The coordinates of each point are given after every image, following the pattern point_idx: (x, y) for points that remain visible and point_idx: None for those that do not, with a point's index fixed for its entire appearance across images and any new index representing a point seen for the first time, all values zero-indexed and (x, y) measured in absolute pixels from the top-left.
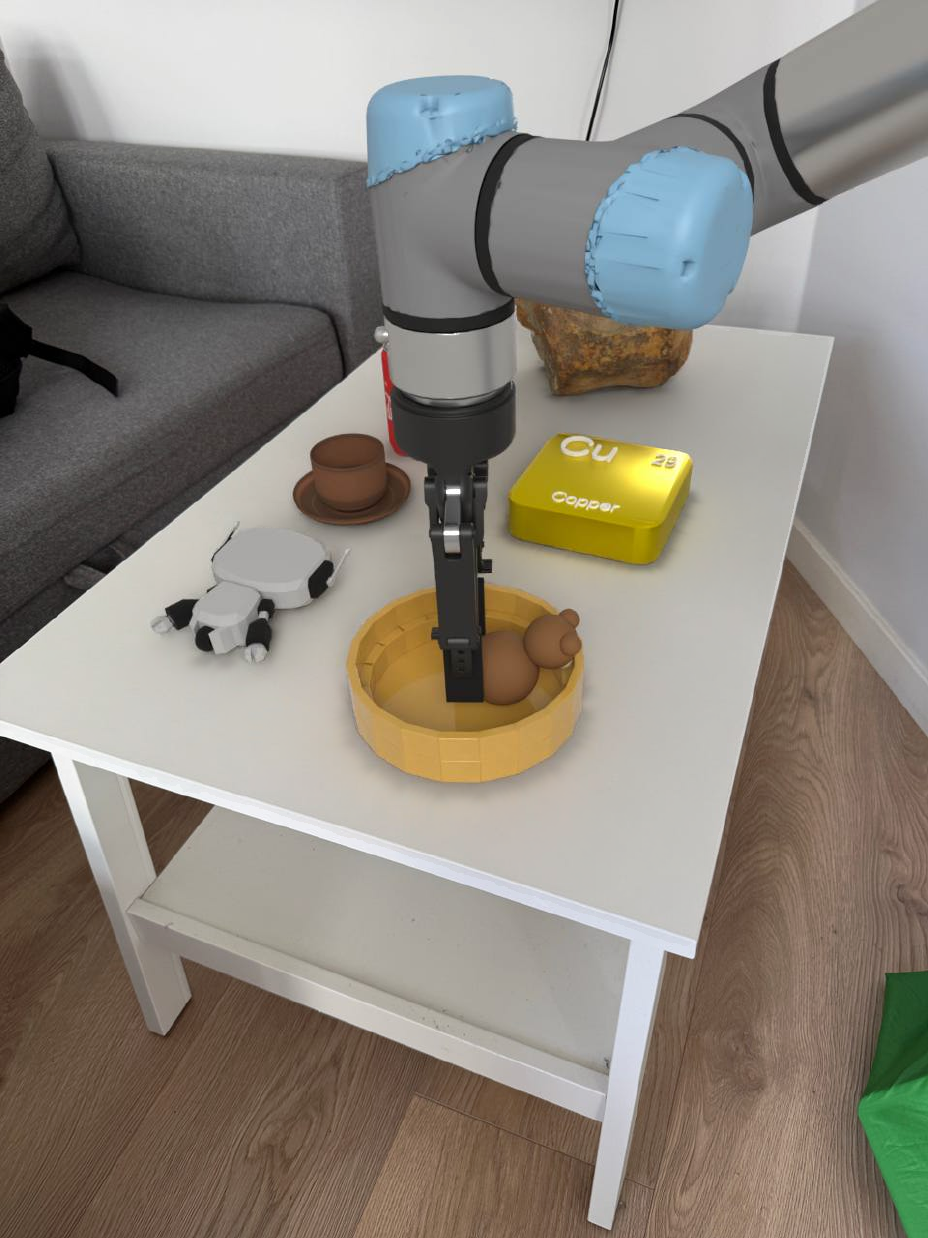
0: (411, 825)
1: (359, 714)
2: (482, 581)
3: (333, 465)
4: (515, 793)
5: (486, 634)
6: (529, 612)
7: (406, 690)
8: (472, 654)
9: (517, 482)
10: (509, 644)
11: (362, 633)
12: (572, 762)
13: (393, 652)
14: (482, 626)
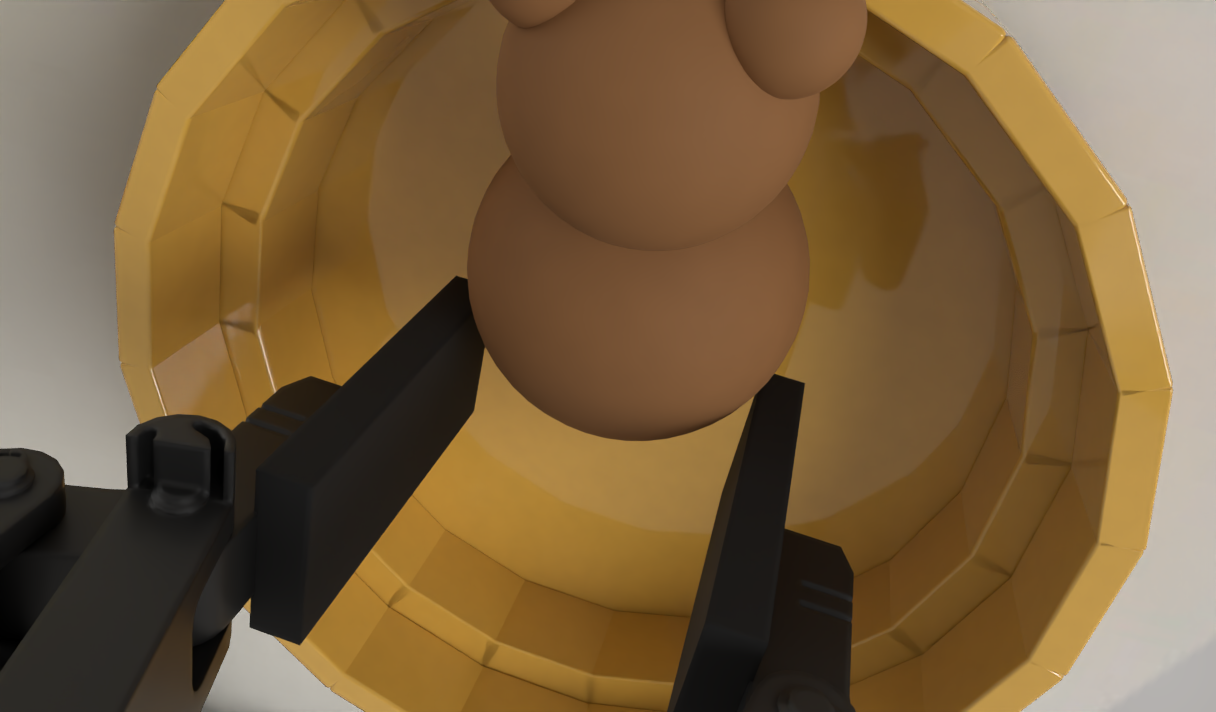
0: (1139, 618)
1: None
2: (296, 490)
3: None
4: (1159, 290)
5: (511, 367)
6: (283, 46)
7: (564, 506)
8: (786, 596)
9: None
10: (638, 316)
11: None
12: (1098, 23)
13: (407, 530)
14: (441, 356)
